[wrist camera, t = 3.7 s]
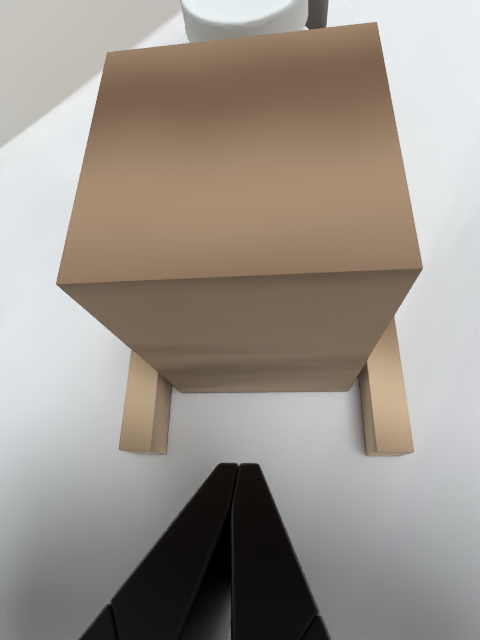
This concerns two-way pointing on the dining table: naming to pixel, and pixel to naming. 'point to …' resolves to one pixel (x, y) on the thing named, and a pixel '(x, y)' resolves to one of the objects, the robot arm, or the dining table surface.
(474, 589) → the dining table surface
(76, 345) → the dining table surface
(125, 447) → the channel
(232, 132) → the block
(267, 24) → the supplement bottle
